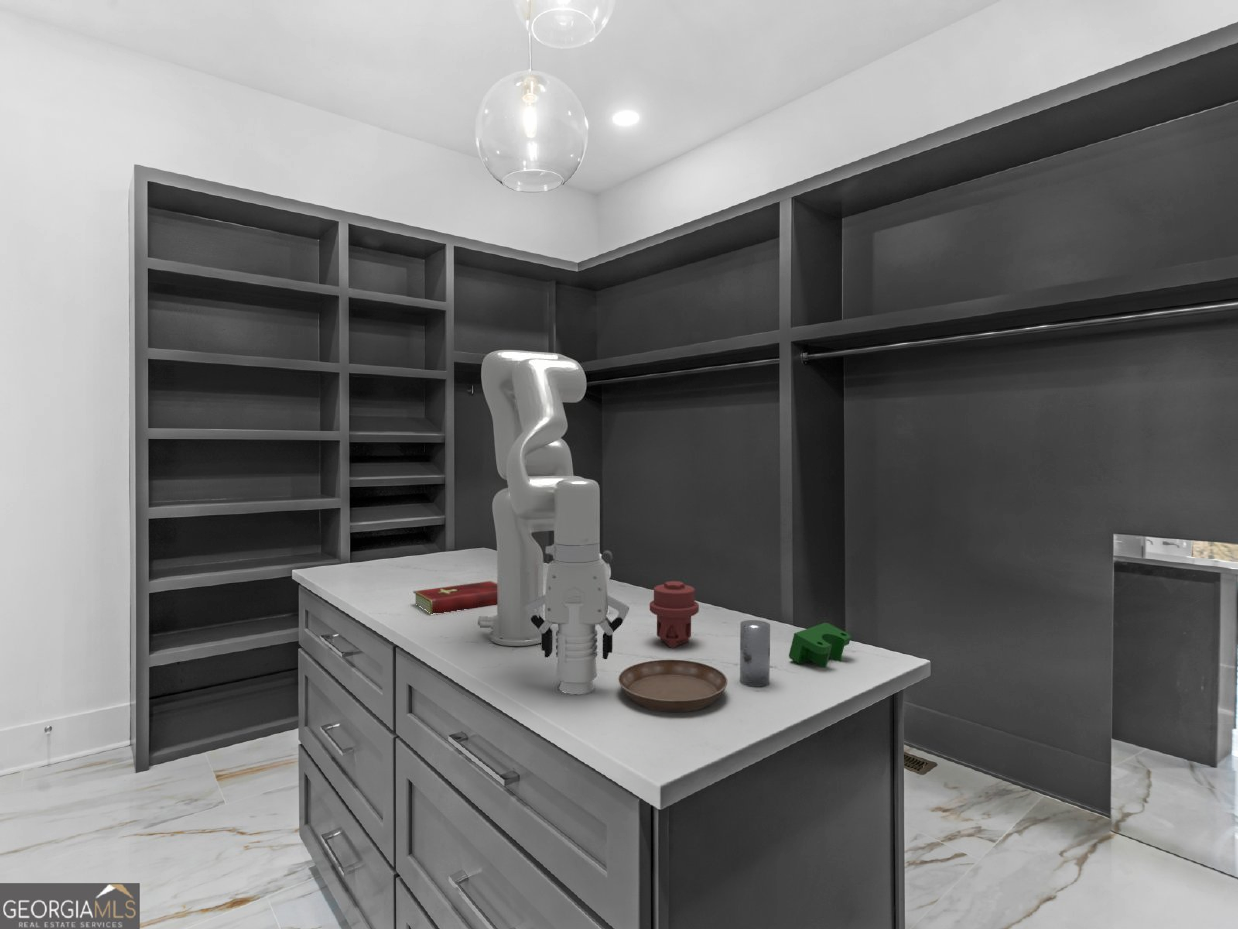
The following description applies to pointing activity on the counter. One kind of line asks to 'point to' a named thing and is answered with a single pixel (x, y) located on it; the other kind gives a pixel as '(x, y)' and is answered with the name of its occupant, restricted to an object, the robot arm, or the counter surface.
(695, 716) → the counter surface
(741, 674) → the metal pillar
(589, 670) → the white ribbed cylinder
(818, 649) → the clamp
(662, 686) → the plant saucer
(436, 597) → the hardcover book
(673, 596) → the mechanical component
